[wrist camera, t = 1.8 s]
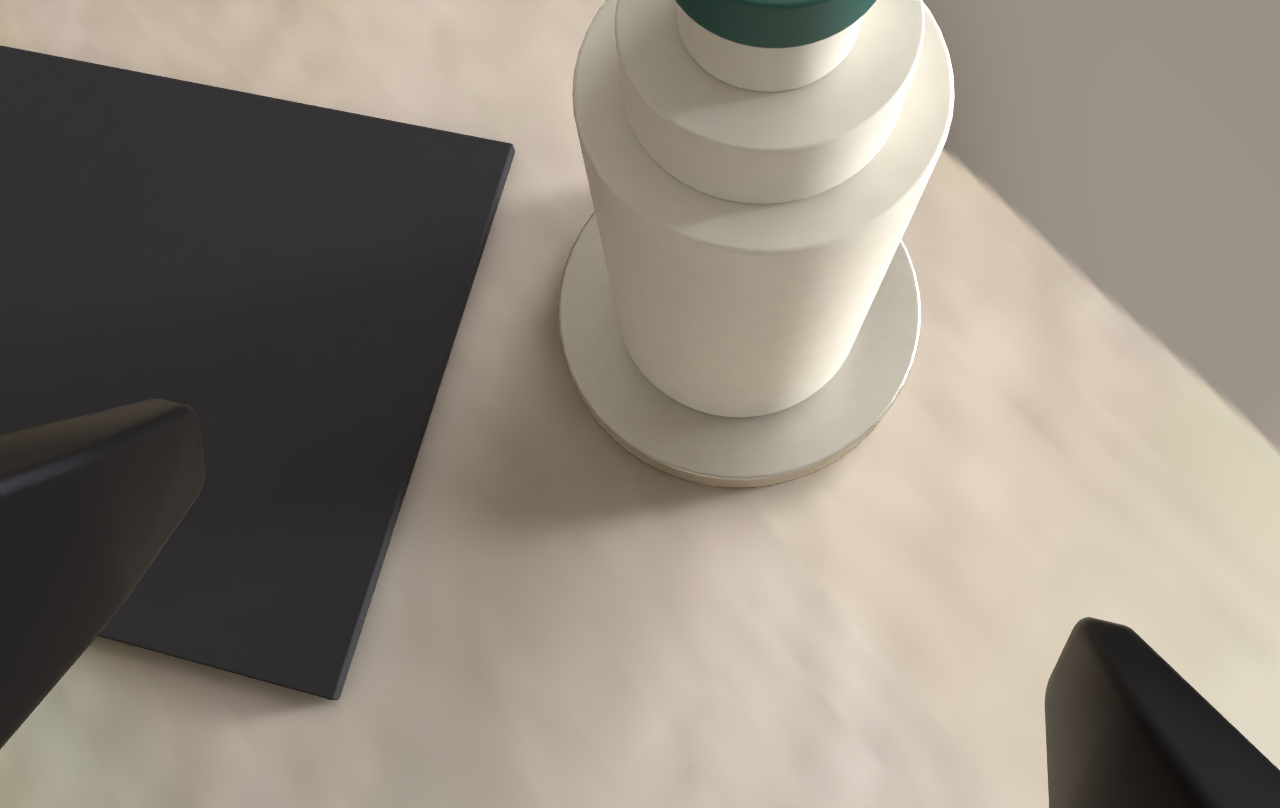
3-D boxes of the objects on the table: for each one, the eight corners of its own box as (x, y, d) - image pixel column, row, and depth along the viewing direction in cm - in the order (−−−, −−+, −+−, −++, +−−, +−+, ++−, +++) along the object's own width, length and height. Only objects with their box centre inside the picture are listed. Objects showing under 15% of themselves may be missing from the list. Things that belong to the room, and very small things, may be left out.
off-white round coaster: (879, 526, 23) (887, 519, 22) (522, 442, 24) (515, 432, 23) (938, 198, 25) (948, 178, 24) (611, 136, 26) (608, 115, 25)
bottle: (834, 443, 22) (995, 161, 10) (590, 388, 23) (476, 67, 11) (878, 219, 24) (1062, -249, 12) (649, 174, 25) (604, -309, 13)
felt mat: (339, 700, 22) (333, 700, 22) (-371, 505, 25) (-388, 502, 24) (515, 151, 26) (513, 143, 26) (-112, 30, 29) (-123, 21, 28)
